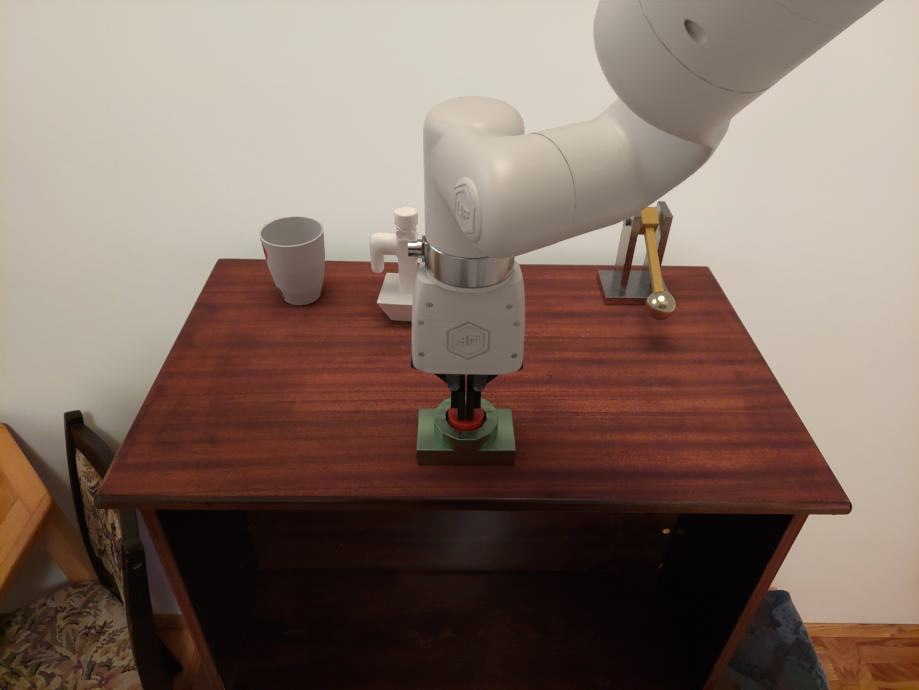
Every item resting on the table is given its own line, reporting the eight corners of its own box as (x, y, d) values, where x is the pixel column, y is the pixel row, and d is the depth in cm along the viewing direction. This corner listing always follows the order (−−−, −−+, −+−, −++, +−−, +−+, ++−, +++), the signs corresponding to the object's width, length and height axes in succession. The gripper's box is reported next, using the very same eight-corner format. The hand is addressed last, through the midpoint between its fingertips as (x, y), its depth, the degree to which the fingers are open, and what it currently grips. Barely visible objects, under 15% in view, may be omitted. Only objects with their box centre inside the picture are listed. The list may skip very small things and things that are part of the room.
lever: (672, 325, 79) (682, 310, 76) (643, 325, 79) (651, 310, 76) (655, 221, 87) (663, 203, 84) (629, 220, 87) (635, 203, 84)
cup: (286, 276, 93) (275, 213, 87) (340, 282, 92) (332, 219, 86) (262, 307, 87) (248, 242, 81) (319, 315, 86) (309, 249, 80)
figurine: (380, 294, 90) (372, 194, 80) (447, 298, 89) (447, 198, 80) (370, 325, 84) (360, 222, 75) (441, 330, 84) (441, 226, 74)
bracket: (669, 305, 89) (691, 221, 81) (604, 304, 89) (620, 220, 81) (657, 277, 94) (677, 196, 86) (596, 276, 94) (610, 195, 86)
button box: (510, 421, 71) (512, 394, 68) (514, 466, 66) (517, 439, 63) (419, 420, 71) (418, 394, 68) (416, 466, 66) (415, 439, 63)
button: (482, 411, 68) (483, 399, 67) (483, 437, 65) (484, 424, 64) (448, 411, 68) (448, 399, 67) (448, 436, 65) (448, 424, 64)
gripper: (376, 277, 51) (388, 437, 63) (564, 280, 51) (542, 439, 63) (385, 231, 57) (394, 385, 68) (554, 234, 57) (535, 387, 68)
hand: (465, 410), depth 65 cm, fingers closed
